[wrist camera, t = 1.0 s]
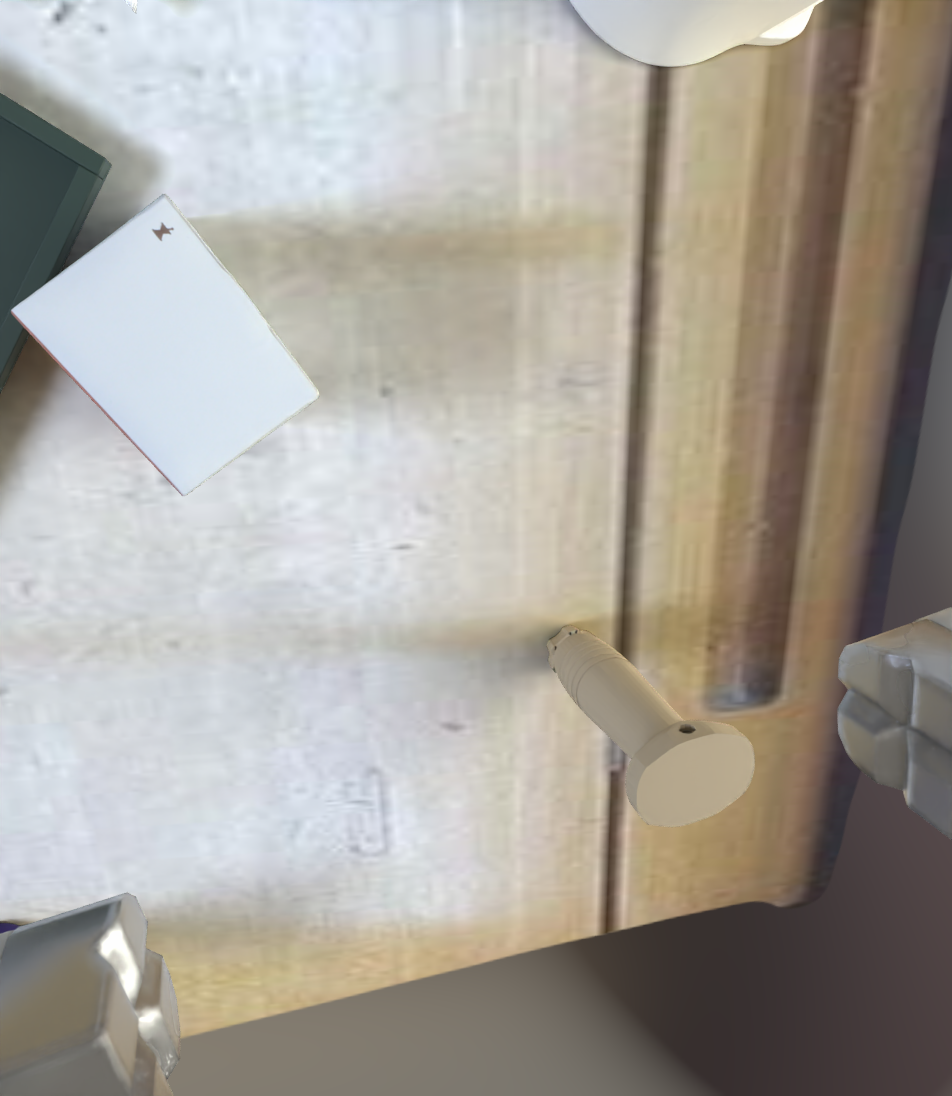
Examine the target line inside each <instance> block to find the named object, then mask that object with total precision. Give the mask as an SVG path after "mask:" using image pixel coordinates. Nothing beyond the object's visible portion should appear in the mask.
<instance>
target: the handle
mask: <svg viewBox="0 0 952 1096" xmlns="http://www.w3.org/2000/svg"><path fill="white" fill-rule="evenodd" d="M547 648H548V650H549V657H548V662H549V664H550V666H551V668H552V669H553V671H554V672H555V673H557V675H558V678H559V679H560V681H561V683H562V685H563V686H564V688H565V689H566V691H567V692H568V694H569V695H570V697H571V698H572V699H573V700H574V702H575V703H576V704H577V705H578V706H579V707H580V709H581V710H582V711H583V712H584V713H585V714H586V715H587V716H588V717H589V718H590V719H591V720H592V721H593V722H594V723H595V724H596V725H597V726H598V727H599V728H600V729H601V730H602V731H604V732H605V733H606V734H607V735H608V736H609V737H610V738H611V739H612V740H613V741H614V742H615V743H616V744H617V745H618V746H619V747H620V748H621V749H622V750H623V751H624V752H625V753H626V754H627V755H628V756H629V757H630V758H631V761H630V763H629V766H628V768H627V773H626V784H625V785H626V793H627V796H628V799H629V802H630V803H631V805H632V806H633V808H634V809H635V810H636V812H637V813H638V814H639V816H640V817H641V818H642V819H643V821H644V822H645V823H646V824H647V825H655V826H665V827H680V826H684V825H688V824H691V823H694V822H697V821H700V820H703V819H706V818H708V817H711V816H713V815H715V814H717V813H718V812H720V811H721V810H723V809H724V808H726V807H727V806H728V805H730V804H731V803H732V802H734V801H735V800H736V799H737V798H739V797H740V796H741V795H742V794H744V793H745V791H746V790H747V788H748V786H749V784H750V782H751V780H752V776H753V772H754V765H755V757H754V750H753V747H752V745H751V743H750V741H749V740H748V739H747V738H746V737H745V736H744V735H743V734H742V733H741V732H739V731H738V730H737V729H736V728H735V727H733V726H731V725H728V724H724V723H719V722H714V721H706V720H685V721H684V720H683V719H682V718H681V717H680V716H679V715H678V714H677V713H676V712H675V711H674V710H673V709H672V708H671V707H670V705H669V704H668V703H667V702H666V701H665V700H664V699H663V698H662V697H661V696H660V695H659V694H658V693H657V691H656V690H655V689H654V688H653V687H652V686H651V685H650V684H649V682H648V681H647V680H646V679H645V678H644V677H643V676H642V675H641V674H640V672H639V671H638V670H637V669H636V668H635V667H634V666H633V665H632V664H631V663H630V662H629V661H628V660H627V659H626V658H625V657H623V656H622V655H621V654H620V653H619V652H617V651H616V650H615V649H613V648H612V647H611V646H610V645H608V644H607V643H605V642H604V641H602V640H600V639H599V638H597V637H596V636H595V635H593V634H592V633H590V632H588V631H586V630H583V631H580V630H578V629H577V628H575V627H574V626H572V625H568V626H565V627H563V628H562V630H561V631H560V632H559V633H558V634H557V635H556V636H555V637H554V638H552V639H549V641H548V643H547Z"/></svg>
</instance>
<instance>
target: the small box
mask: <svg viewBox="0 0 952 1096" xmlns="http://www.w3.org/2000/svg"><path fill="white" fill-rule="evenodd" d="M11 313H12V315H13V316H14V317H15V318H16V319H17V320H18V321H19V322H20V324H21V325H22V326H23V327H24V328H25V329H26V330H27V331H28V332H29V333H30V334H31V335H32V336H33V337H34V339H35V340H36V341H37V342H38V343H39V344H40V345H41V346H42V347H43V348H44V349H45V350H46V351H47V353H48V354H49V355H50V356H51V357H52V358H53V359H54V360H55V361H56V362H57V363H58V364H59V365H60V367H61V368H62V369H63V370H64V371H65V372H66V373H67V374H68V375H69V376H70V377H71V378H72V379H73V380H74V381H75V383H76V384H77V385H78V386H79V387H80V388H81V389H82V390H83V391H84V392H85V393H86V394H87V395H88V396H89V397H90V398H91V400H92V401H93V402H94V403H95V404H96V405H97V406H98V407H99V408H100V409H101V410H102V411H103V412H104V413H105V414H106V416H107V417H108V418H109V419H110V420H111V421H112V422H113V423H114V424H115V425H116V426H117V427H118V428H119V429H120V430H121V432H122V433H123V434H124V435H125V436H126V437H127V438H128V439H129V440H130V441H131V442H132V443H133V444H134V445H135V446H136V447H137V448H138V450H139V451H140V452H141V453H142V454H143V455H144V456H145V457H146V458H147V459H148V460H149V461H150V462H151V463H152V464H153V465H154V467H155V468H156V469H157V470H158V471H159V472H160V473H161V474H162V475H163V476H164V477H165V478H166V479H167V480H168V481H169V482H170V483H171V485H172V486H173V487H174V488H175V489H176V490H177V491H178V492H179V493H180V494H181V495H182V496H185V495H188V494H189V493H190V492H192V491H193V490H195V489H196V488H197V487H199V486H200V485H201V484H203V483H204V482H205V481H207V480H208V479H209V478H211V477H212V476H213V475H215V474H216V473H217V472H219V471H220V470H222V469H223V468H224V467H226V466H227V465H228V464H230V463H231V462H232V461H234V460H235V459H237V458H238V457H239V456H241V455H242V454H243V453H245V452H246V451H247V450H249V449H250V448H251V447H253V446H254V445H256V444H257V443H258V442H260V441H261V440H262V439H264V438H265V437H266V436H268V435H269V434H270V433H272V432H273V431H275V430H276V429H277V428H279V427H280V426H281V425H283V424H284V423H285V422H287V421H288V420H290V419H291V418H292V417H294V416H295V415H296V414H298V413H299V412H301V411H302V410H303V409H305V408H306V407H307V406H309V405H310V404H311V403H313V402H314V401H315V400H317V399H318V398H319V392H318V390H317V388H316V387H315V385H314V384H313V383H312V381H311V380H310V378H309V377H308V376H307V374H306V373H305V372H304V370H303V369H302V368H301V366H300V365H299V364H298V362H297V361H296V360H295V358H294V357H293V356H292V354H291V353H290V352H289V350H288V349H287V348H286V346H285V345H284V344H283V342H282V341H281V340H280V338H279V337H278V336H277V334H276V333H275V332H274V330H273V329H272V328H271V326H270V325H269V324H268V322H267V321H266V320H265V318H264V317H263V316H262V314H261V313H260V311H259V310H258V309H257V307H256V306H255V305H254V303H253V302H252V301H251V299H250V298H249V297H248V295H247V294H246V293H245V291H244V290H243V289H242V287H241V286H240V285H239V284H238V282H237V281H236V279H235V278H234V277H233V276H232V275H231V273H230V272H229V271H228V270H227V269H226V268H225V267H224V266H223V264H222V263H221V262H220V261H219V259H218V258H217V257H216V256H215V254H214V253H213V252H212V251H211V249H210V248H209V247H208V245H207V244H206V243H205V242H204V240H203V239H202V238H201V237H200V235H199V234H198V233H197V232H196V230H195V229H194V228H193V226H192V225H191V224H190V223H189V221H188V220H187V219H186V218H185V216H184V215H183V214H182V213H181V211H180V210H179V209H178V208H177V206H176V205H175V204H174V202H173V201H172V200H171V199H170V198H169V197H168V196H167V195H166V194H162V195H161V196H160V197H159V198H157V199H156V200H155V201H153V202H152V203H151V204H150V205H148V206H147V207H146V208H145V209H143V210H142V211H141V212H140V213H138V214H137V215H136V216H134V217H133V218H132V219H130V220H129V221H128V222H127V223H125V224H124V225H123V226H121V227H120V228H119V229H117V230H116V231H115V232H114V233H112V234H111V235H110V236H108V237H107V238H106V239H104V240H103V241H102V242H101V243H99V244H98V245H97V246H95V247H94V248H93V249H91V250H90V251H89V252H88V253H86V254H85V255H84V256H82V257H81V258H80V259H78V260H77V261H76V262H74V263H73V264H72V265H70V266H69V267H68V268H66V269H65V270H64V271H62V272H61V273H60V274H58V275H57V276H56V277H54V278H53V279H52V280H50V281H49V282H48V283H46V284H45V285H44V286H42V287H41V288H40V289H38V290H37V291H36V292H34V293H33V294H32V295H30V296H29V297H28V298H26V299H25V300H23V301H22V302H21V303H19V304H18V305H17V306H15V307H14V308H13V309H12V310H11Z"/></svg>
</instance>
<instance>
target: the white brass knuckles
mask: <svg viewBox="0 0 952 1096" xmlns="http://www.w3.org/2000/svg"><path fill="white" fill-rule="evenodd" d="M124 1H125V2H126V3H127V4H128V5H129V6H130V7H131V9H132V10H133V11H134V12H135V13H136V9H137V0H124Z"/></svg>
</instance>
